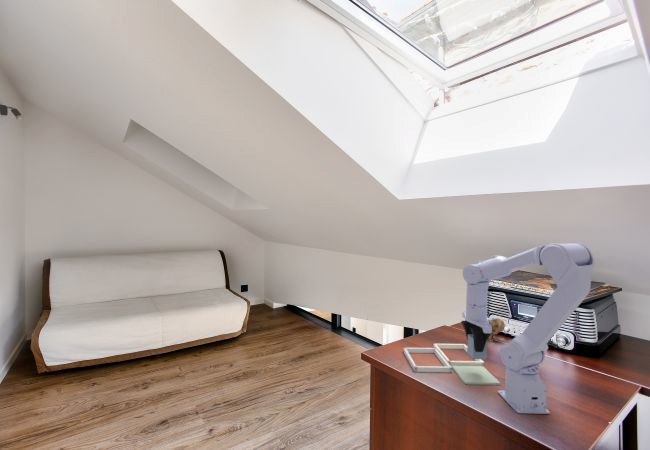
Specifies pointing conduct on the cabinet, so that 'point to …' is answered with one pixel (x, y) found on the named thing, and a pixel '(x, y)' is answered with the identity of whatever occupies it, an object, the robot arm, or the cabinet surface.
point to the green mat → (475, 375)
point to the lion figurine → (496, 327)
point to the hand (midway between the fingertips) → (475, 348)
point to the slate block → (471, 349)
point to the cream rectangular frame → (457, 363)
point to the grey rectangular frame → (427, 368)
